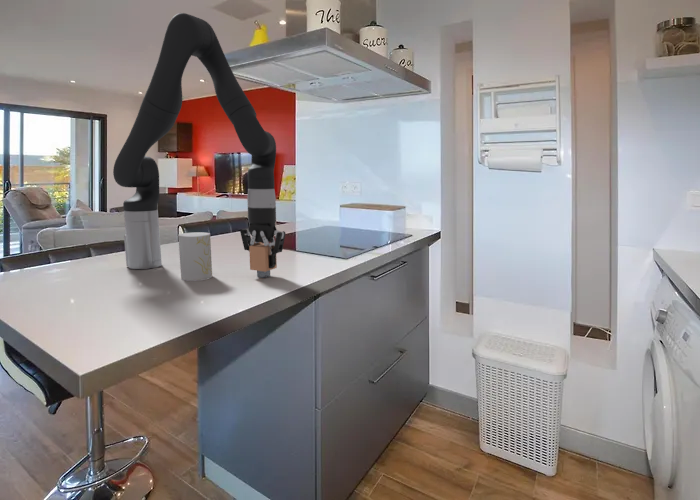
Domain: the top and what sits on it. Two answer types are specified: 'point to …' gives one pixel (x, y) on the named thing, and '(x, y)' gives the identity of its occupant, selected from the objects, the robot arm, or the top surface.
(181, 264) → the white round cylinder
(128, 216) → the robot arm
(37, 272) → the top surface
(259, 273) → the post
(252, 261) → the tan cardboard box
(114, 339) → the top surface
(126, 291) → the top surface
